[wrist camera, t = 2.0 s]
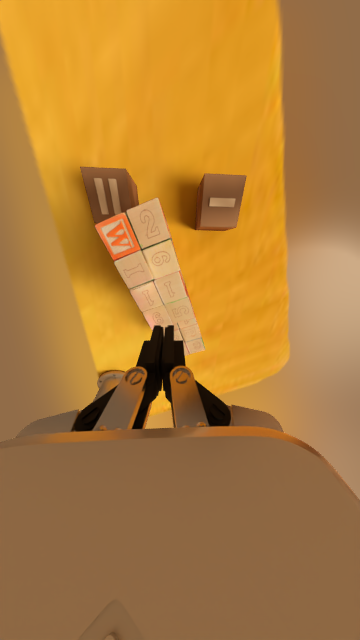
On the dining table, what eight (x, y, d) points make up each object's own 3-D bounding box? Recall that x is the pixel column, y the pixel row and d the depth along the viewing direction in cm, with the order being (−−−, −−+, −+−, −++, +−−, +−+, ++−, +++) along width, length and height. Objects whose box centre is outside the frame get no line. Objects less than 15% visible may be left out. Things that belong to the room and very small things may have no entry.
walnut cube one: (223, 230, 22) (236, 227, 17) (195, 230, 22) (200, 226, 17) (230, 190, 19) (247, 174, 15) (197, 189, 19) (205, 172, 15)
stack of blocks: (197, 323, 31) (209, 363, 21) (173, 330, 32) (173, 372, 22) (166, 219, 21) (158, 193, 10) (131, 233, 22) (91, 223, 11)
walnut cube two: (141, 228, 21) (132, 223, 17) (110, 227, 21) (93, 222, 17) (136, 186, 19) (125, 167, 14) (101, 184, 18) (78, 165, 14)
